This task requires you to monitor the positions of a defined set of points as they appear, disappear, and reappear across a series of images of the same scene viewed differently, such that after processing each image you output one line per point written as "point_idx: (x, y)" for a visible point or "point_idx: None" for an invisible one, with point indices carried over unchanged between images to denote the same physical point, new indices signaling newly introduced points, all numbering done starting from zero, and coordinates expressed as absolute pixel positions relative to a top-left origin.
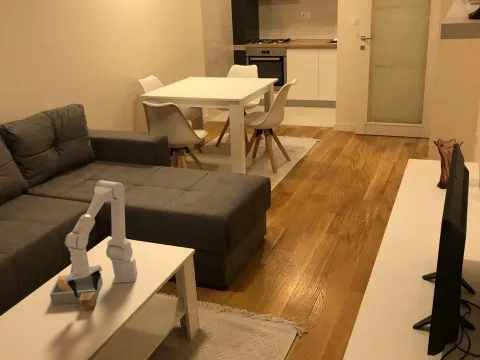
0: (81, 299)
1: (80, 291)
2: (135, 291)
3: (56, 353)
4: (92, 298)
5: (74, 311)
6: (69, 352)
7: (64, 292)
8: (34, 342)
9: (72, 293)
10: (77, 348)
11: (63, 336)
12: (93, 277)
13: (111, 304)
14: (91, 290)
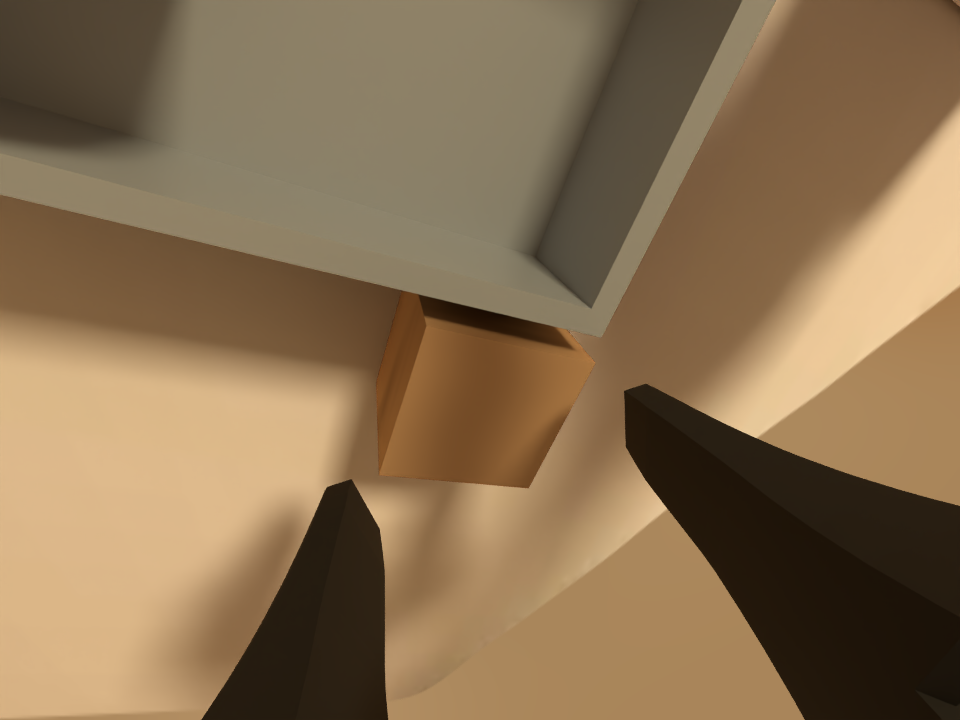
0: (412, 466)
1: (405, 280)
2: (875, 252)
3: None
4: (536, 469)
5: (306, 368)
6: None
7: (45, 179)
8: (15, 644)
9: (254, 249)
10: None
11: (255, 611)
12: (809, 646)
13: (639, 369)
14: (569, 318)
